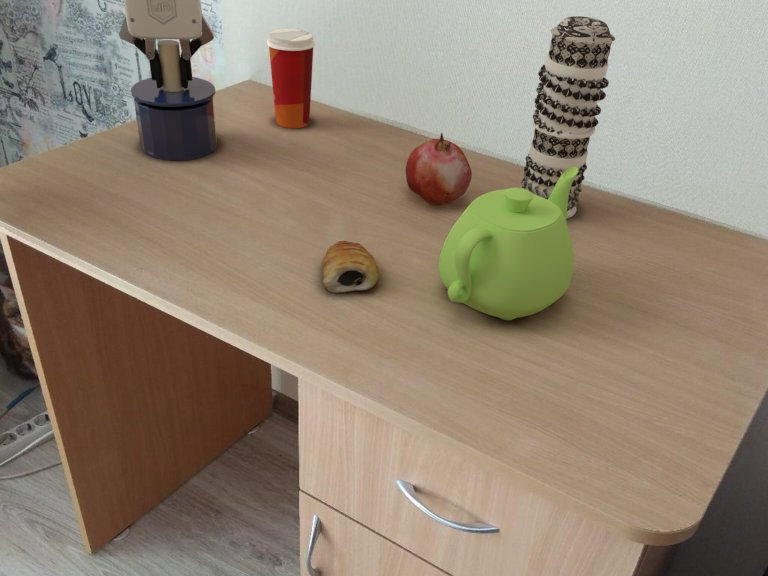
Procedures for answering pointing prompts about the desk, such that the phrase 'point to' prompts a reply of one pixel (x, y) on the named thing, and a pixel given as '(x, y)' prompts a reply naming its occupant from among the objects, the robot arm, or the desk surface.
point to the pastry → (349, 268)
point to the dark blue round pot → (177, 130)
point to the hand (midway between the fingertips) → (172, 84)
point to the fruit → (438, 171)
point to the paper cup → (291, 75)
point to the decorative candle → (567, 105)
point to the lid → (172, 82)
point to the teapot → (510, 251)
